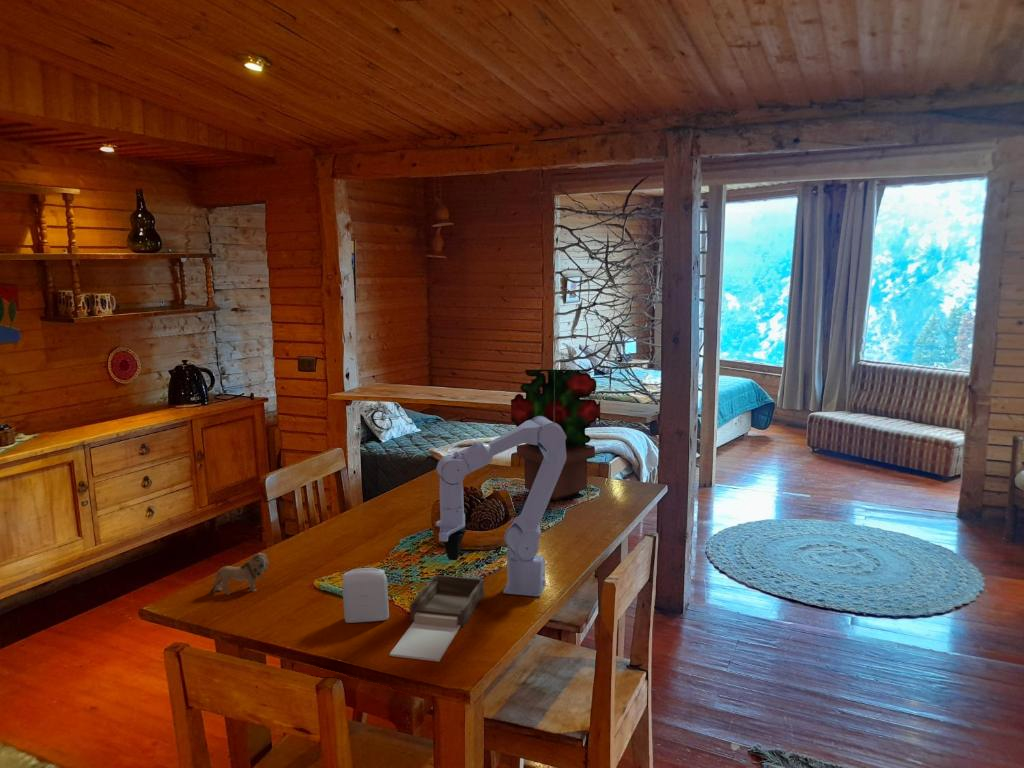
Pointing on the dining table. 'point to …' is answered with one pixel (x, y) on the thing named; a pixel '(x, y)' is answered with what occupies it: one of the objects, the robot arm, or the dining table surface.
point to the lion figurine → (242, 573)
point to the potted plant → (566, 411)
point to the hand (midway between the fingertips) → (453, 559)
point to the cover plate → (427, 637)
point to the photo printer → (365, 595)
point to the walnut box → (449, 597)
